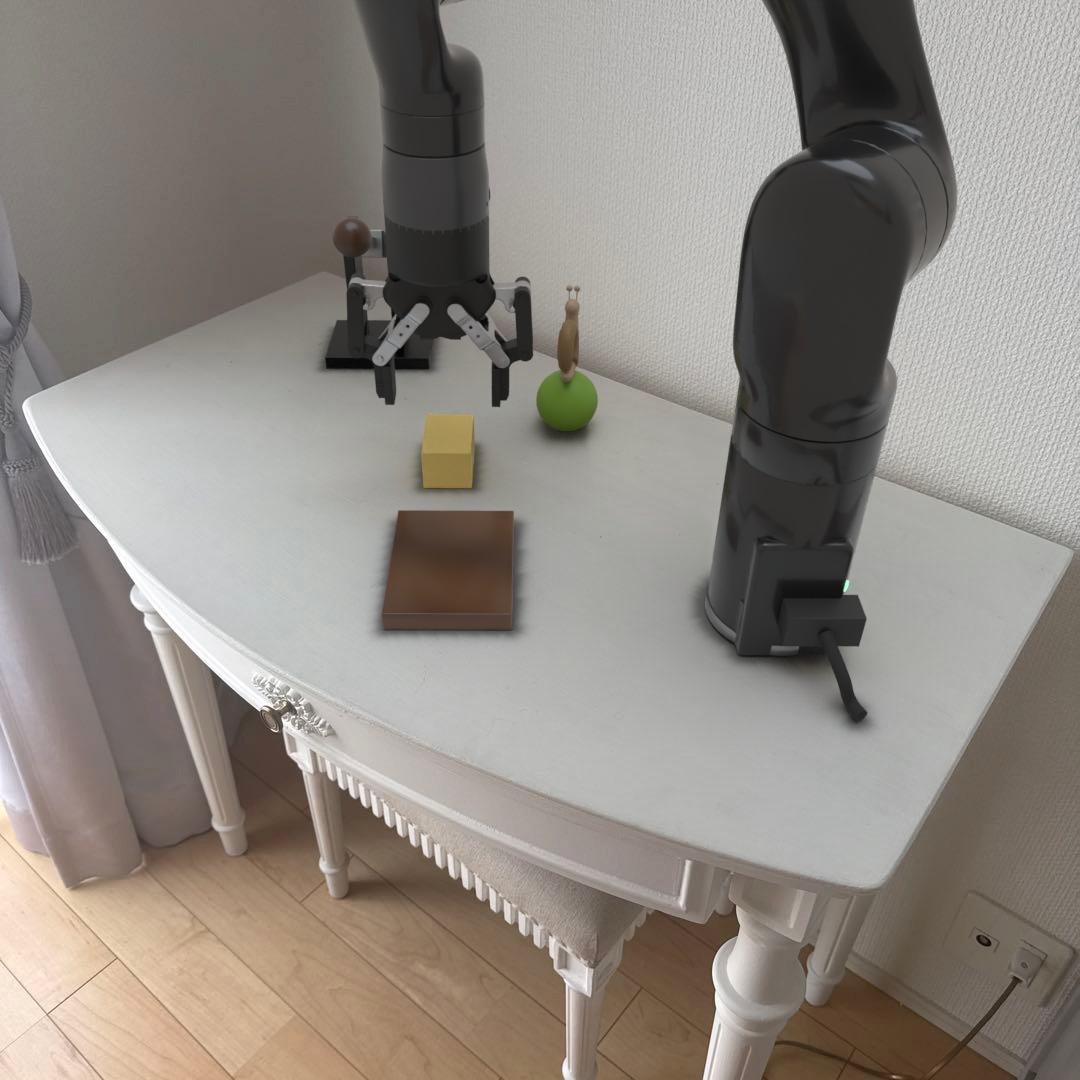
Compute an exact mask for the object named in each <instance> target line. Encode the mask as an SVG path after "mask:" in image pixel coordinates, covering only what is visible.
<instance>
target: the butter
mask: <svg viewBox="0 0 1080 1080" xmlns="http://www.w3.org/2000/svg"><path fill="white" fill-rule="evenodd" d="M423 430H424V431H423V437H422V443H421V450H420V456H421V471H422V472H421V473H422V487H423V489H472V488H473V480H474V479H473V478H474V465H475V452H476V451H475V450H476V444H475V414H473V413H471V414H470V413H452V414H451V413H426V417H425V423H424V429H423Z"/></svg>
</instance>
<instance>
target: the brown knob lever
mask: <svg viewBox="0 0 1080 1080" xmlns="http://www.w3.org/2000/svg"><path fill="white" fill-rule="evenodd" d="M347 217H348V218H347ZM347 217H345V218H343V219H341V220H339V221H338V222H337V223H336V225H335V226H334V227H333V231H332V242H333V245H334V247H335V248H336V250H337V251H338V252H339V253H340V254H341V255H345V256H347V257H359V256H360V257H362V258H365V259H368V258H369V259H370V258H371V259H372V258H373V259H379V258H380V259H387V254H386V242H385V230H383V229H370V227H369V225H368V224H367V223H366V222H365V221H364V220H362V219H361V218H359V217H358V218H355V217H356V216H347Z"/></svg>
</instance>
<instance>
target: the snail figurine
mask: <svg viewBox="0 0 1080 1080" xmlns="http://www.w3.org/2000/svg"><path fill="white" fill-rule="evenodd" d="M566 291H567V292H568V300H566V302H565V305H564V311H565V317H564V321H563V323H562V324H561V327H560V330H559V332H558V339H557V348H556V349H557V351H556V359H557V365H558V368H559V370H556V371H553V372H551V373H550V374H548V375H547V376H545V378H544V379H543V381H541V383H540V384H539V387H538V389H537V392H536V399H535V403H536V408H537V412H538V414H539V416H540V418H541V419H542V420H543V422H544V423H545V424H546V425H547V426H549V427H551V428H552V429H554V430H557V431H561V432H573V431H577V430H580V429H581V428H584V427H585V426H586V425H587V424H588V423H590V421H591V420H592V419H593V417H594V416H595V414H596V412H597V408H598V403H599V397H598V392H597V389H596V387H595V384H594V383H593V381H592V380H591V379H590V378H589V377H588V376H587V375H586V374H585V373H583V372H581V371H578V370H576V369H577V366H578V364H579V359H580V358H579V357H580V331H579V329H580V328H579V325H580V324H579V323H580V322H579V314H580V313H579V312H580V308H581V306H580V303H579V301H578V292H580V291H581V286H580V285H575V286H574V287H573V285H571V284H568V285H567V286H566ZM572 291H575V292H576V296H575V298H571V292H572Z"/></svg>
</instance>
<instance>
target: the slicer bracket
mask: <svg viewBox="0 0 1080 1080" xmlns="http://www.w3.org/2000/svg"><path fill="white" fill-rule="evenodd" d="M348 217H349V216H347V217H346V218H348ZM354 217H355V218H358V219H359V217H358V216H354ZM385 242H386V234H385ZM386 254H387V248H386ZM342 255H343V254H342ZM386 265H387V267H388V262H387V261H386ZM343 266H344V276H345V284H346V290H347V289H348V286H349V283H350V279H351V277H352V275H353V274H355V273H361V274H363V275H364V267H363V266H364V265H363V257H360V256H359V257H347V256H345V255H343ZM390 314H391V319H390V320H389V319H385V320H383V319H369V316H368V315H367V325H368V335H369V336H372V337H374V338H377V339H378V338H379V337H380V336H381V334H382V333H383V332H384V330H385V329H386V328H387V327H388V325H389V323H390V321H391V320H392V318H393V317H394V316H395V312H394V311H393V310H392V309H391V308H390ZM433 345H434V339H420V336H418V335H416V334H414V333H412V335H411V336H410V337H409V338H408V340H407V341H406V342H405V343H404V345H403V346H402V347H401V348H400V349H398V350H397V351H396V352H395V353H394V364H395V370H397V369H400V370H401V369H402V370H405V369H406V370H415V369H416V370H428V369H430V367H431V366H430V365H431V359H432V351H433ZM324 361H325V368H326V369H374V365H373V363H372V362H371V361H370V360H369V359H367V358H364V357H360V358H354V357H352V356H351V355H350V354H349V352H348V325H347V319H337V320H336V321H335V325H334V327H333V331H332V334H331V337H330V340H329V343H328V346H327V350H326V353H325V356H324Z"/></svg>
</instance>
